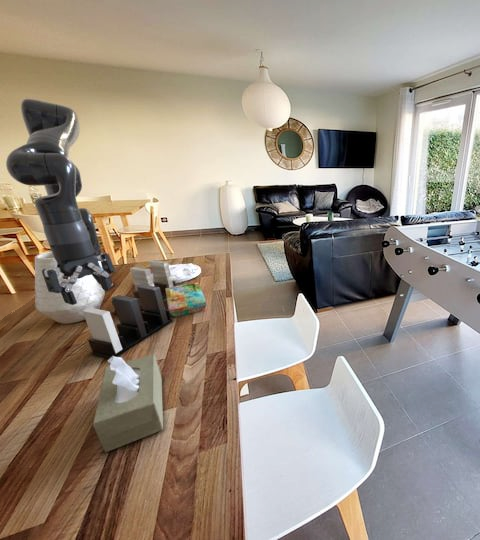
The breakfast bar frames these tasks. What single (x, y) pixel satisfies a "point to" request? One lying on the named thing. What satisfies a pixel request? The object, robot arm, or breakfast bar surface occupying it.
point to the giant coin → (183, 272)
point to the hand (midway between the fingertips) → (90, 296)
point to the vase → (53, 303)
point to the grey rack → (135, 320)
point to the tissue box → (129, 402)
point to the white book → (102, 327)
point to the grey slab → (144, 277)
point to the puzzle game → (185, 299)
